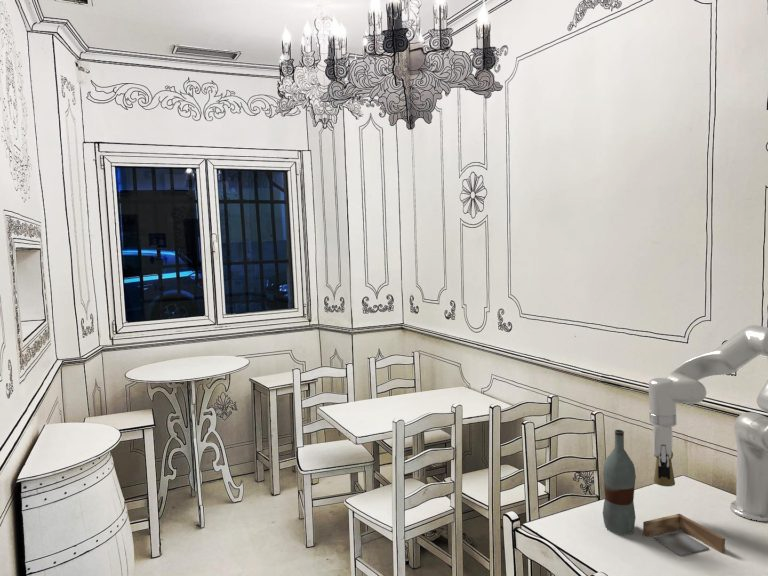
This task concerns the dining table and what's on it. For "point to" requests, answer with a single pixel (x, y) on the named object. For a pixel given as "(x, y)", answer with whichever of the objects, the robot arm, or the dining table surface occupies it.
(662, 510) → the dining table surface
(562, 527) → the dining table surface
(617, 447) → the bottle
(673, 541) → the corner arena
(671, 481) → the cork
